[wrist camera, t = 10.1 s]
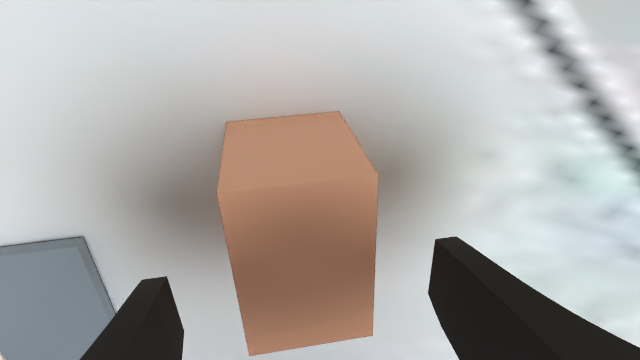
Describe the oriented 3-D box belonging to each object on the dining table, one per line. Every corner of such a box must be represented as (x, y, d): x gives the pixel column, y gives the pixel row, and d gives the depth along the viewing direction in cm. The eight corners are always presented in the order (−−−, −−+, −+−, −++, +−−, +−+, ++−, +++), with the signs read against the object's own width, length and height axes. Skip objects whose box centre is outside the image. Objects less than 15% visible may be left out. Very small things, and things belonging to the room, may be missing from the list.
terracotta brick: (340, 241, 17) (372, 335, 13) (249, 254, 17) (249, 356, 12) (338, 110, 14) (378, 174, 10) (226, 121, 14) (216, 193, 9)
